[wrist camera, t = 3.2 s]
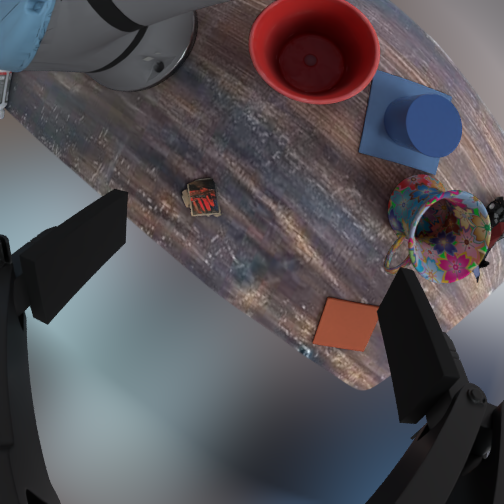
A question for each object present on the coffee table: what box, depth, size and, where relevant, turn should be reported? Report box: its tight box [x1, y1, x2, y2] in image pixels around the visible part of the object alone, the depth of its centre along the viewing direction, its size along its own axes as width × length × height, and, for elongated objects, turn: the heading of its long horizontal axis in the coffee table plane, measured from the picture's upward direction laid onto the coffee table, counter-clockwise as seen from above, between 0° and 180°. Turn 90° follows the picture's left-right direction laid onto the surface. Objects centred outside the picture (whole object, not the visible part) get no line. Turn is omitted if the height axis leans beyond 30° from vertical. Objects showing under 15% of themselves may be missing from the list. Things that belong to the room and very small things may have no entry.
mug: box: [384, 174, 491, 283], centre depth 30 cm, size 12×9×11 cm
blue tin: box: [384, 94, 462, 158], centre depth 27 cm, size 6×6×8 cm
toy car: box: [472, 197, 504, 283], centre depth 32 cm, size 6×12×4 cm, turn 140°
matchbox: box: [182, 177, 222, 217], centre depth 38 cm, size 5×5×1 cm
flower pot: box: [248, 0, 380, 105], centre depth 26 cm, size 11×11×10 cm
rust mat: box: [313, 297, 379, 352], centre depth 43 cm, size 8×8×1 cm
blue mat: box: [358, 70, 452, 175], centre depth 31 cm, size 10×10×1 cm
